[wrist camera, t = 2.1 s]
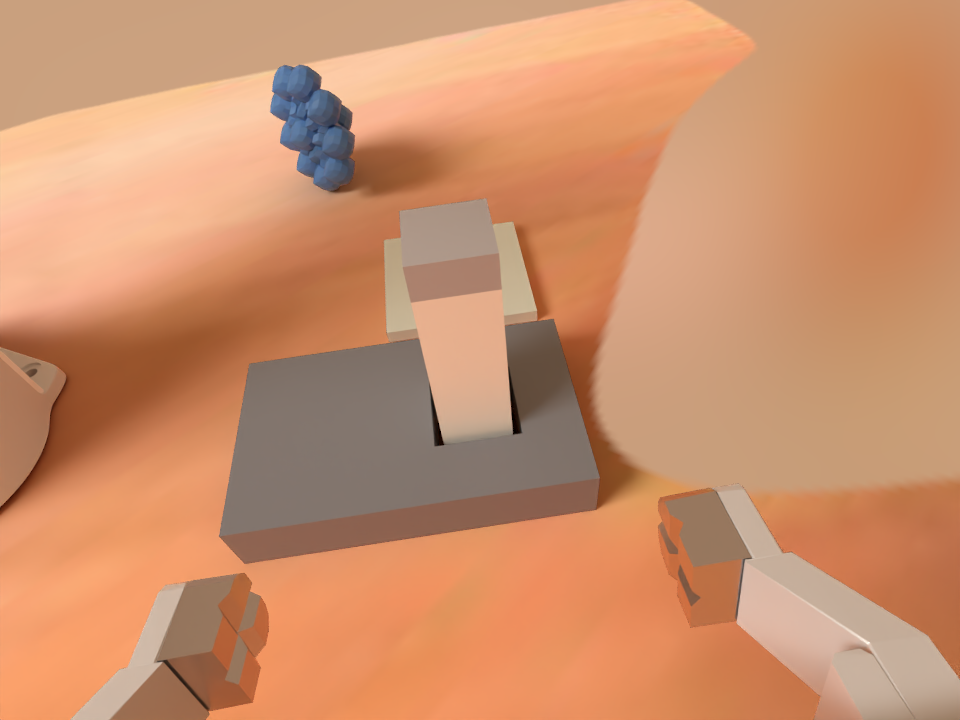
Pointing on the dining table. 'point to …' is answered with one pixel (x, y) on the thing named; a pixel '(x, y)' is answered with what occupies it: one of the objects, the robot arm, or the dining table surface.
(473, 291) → the cream plug
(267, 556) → the block
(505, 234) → the sage pad
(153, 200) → the dining table surface
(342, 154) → the grapes
